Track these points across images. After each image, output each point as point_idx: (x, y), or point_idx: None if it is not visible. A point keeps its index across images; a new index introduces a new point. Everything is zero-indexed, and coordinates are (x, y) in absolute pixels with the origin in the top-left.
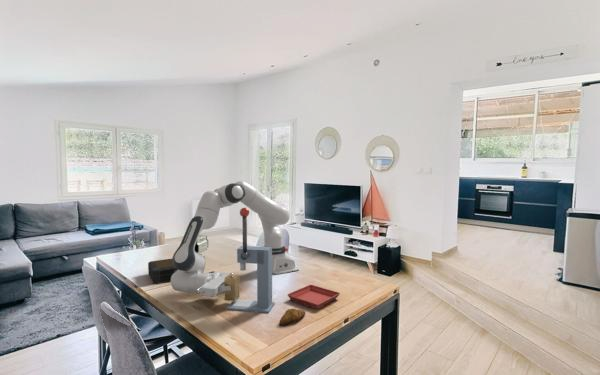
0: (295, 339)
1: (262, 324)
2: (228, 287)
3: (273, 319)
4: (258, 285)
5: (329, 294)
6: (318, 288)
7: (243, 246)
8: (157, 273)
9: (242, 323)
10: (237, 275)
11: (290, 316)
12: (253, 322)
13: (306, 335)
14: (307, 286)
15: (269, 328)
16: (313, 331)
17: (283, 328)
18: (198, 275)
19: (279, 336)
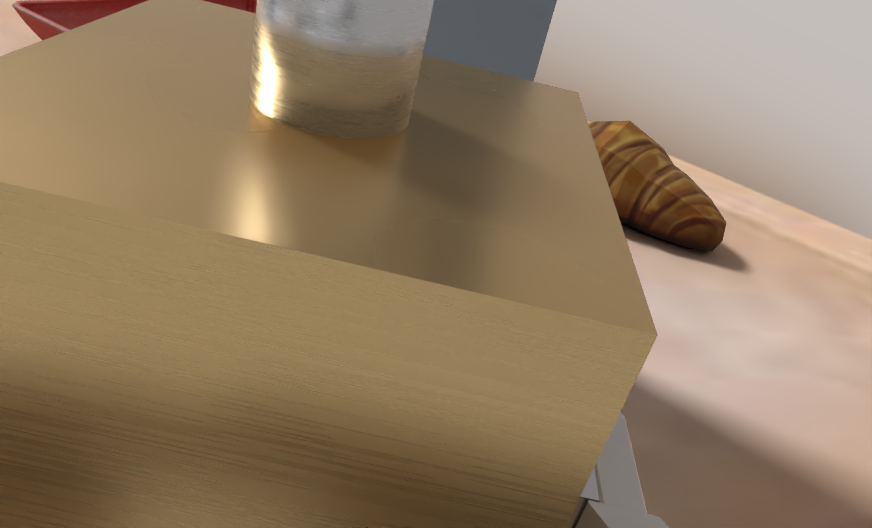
0: (820, 227)
1: (763, 340)
2: (625, 479)
3: (638, 276)
4: (539, 56)
5: None
6: (103, 10)
7: None
8: None
9: (861, 490)
10: (198, 14)
11: (678, 168)
12: (773, 397)
13: (748, 192)
14: (43, 18)
15: (791, 307)
16: (691, 168)
17: (738, 249)
18: None
19: (848, 275)
